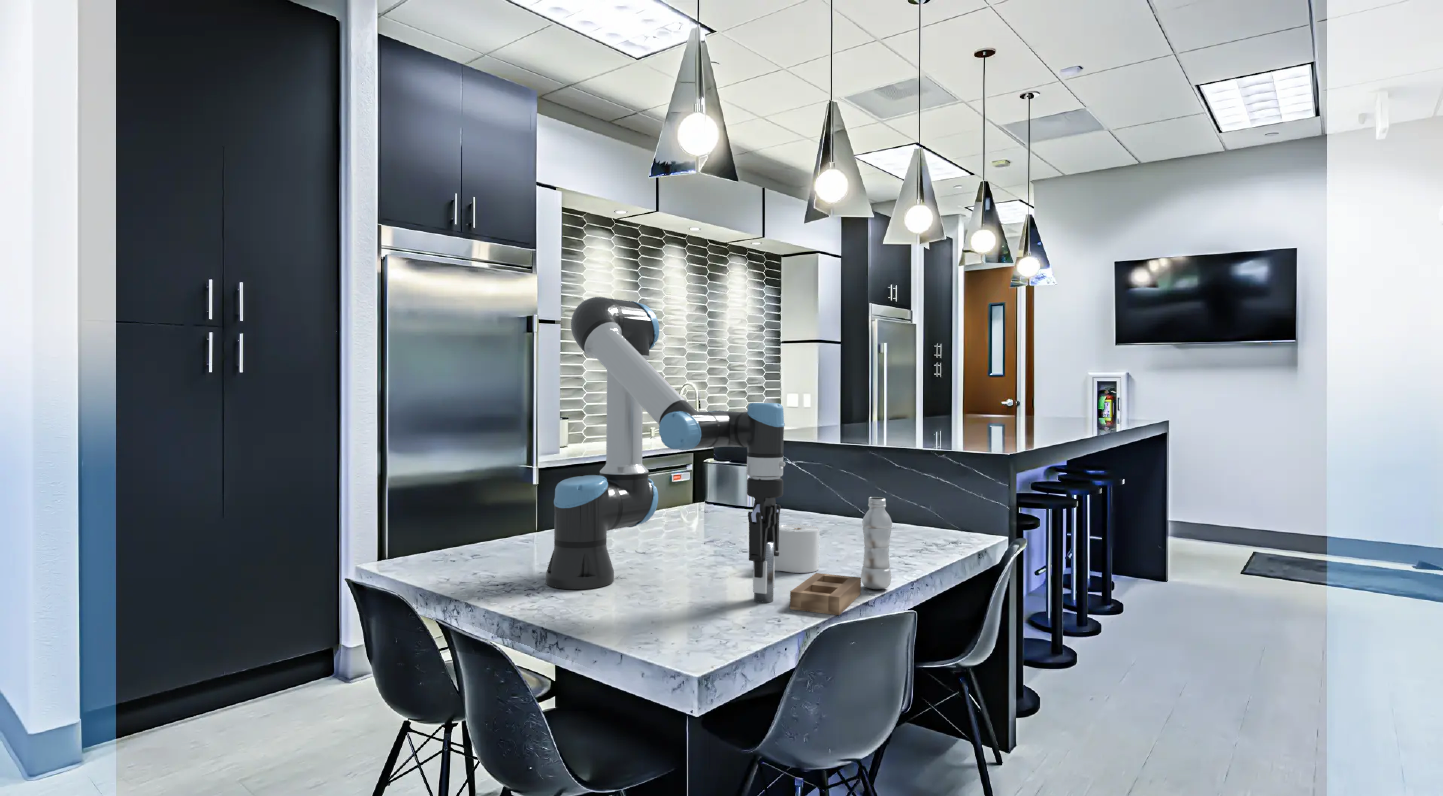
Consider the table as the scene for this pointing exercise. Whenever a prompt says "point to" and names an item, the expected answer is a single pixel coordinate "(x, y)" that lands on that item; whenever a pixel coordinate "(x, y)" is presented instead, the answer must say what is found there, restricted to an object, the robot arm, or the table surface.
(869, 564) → the plastic bottle
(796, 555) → the toilet tissue
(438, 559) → the table surface
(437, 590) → the table surface
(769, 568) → the pin
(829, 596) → the block
